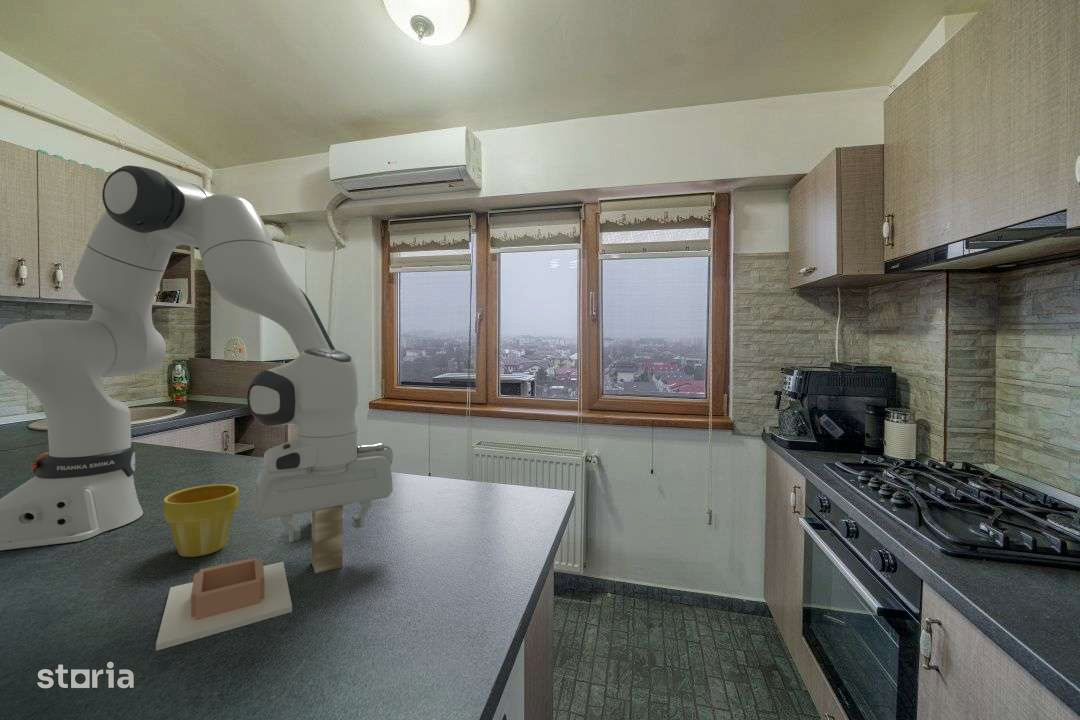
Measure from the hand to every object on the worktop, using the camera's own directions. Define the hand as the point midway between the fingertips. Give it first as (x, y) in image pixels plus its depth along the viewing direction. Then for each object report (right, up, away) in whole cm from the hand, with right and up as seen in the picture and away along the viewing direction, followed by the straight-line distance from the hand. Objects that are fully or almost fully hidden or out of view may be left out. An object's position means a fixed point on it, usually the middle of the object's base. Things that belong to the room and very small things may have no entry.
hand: (327, 533), depth 72 cm
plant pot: (-24, -5, +5) cm, 25 cm away
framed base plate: (-9, -6, -10) cm, 15 cm away
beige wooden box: (0, -5, 0) cm, 5 cm away
